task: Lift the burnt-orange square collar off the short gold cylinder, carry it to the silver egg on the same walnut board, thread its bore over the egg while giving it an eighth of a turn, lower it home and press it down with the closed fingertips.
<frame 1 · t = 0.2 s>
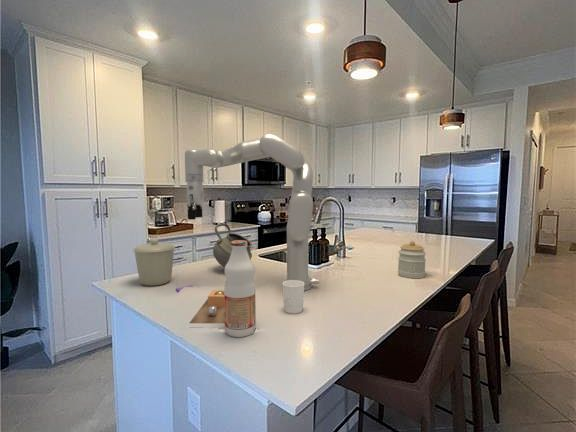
hand: (195, 218, 140), 31 cm above the counter, tool pointing down, fingers open, 9 cm apart
collar: (220, 303, 118), point 1 cm above the counter, touching walnut board
canister: (155, 283, 149), on the counter
white cup: (293, 310, 116), on the counter
walnut board: (216, 313, 112), on the counter
short gold cylinder: (220, 307, 118), resting on walnut board
fruit juice: (240, 331, 99), on the counter
jar: (411, 275, 162), on the counter
pot: (233, 270, 172), on the counter
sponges: (188, 294, 135), on the counter
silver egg: (212, 320, 107), resting on walnut board
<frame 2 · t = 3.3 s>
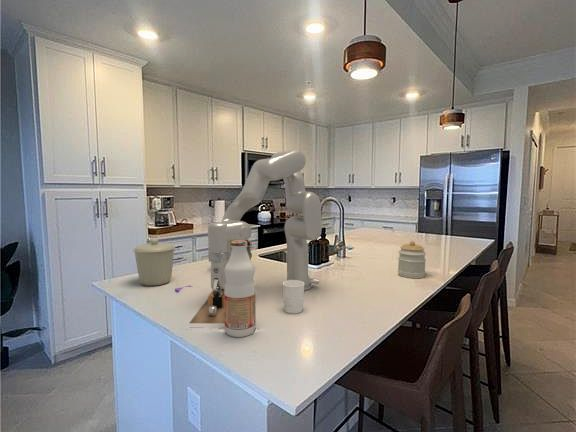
hand: (220, 303, 118), 2 cm above the counter, tool pointing down, fingers closed on collar, walnut board, 7 cm apart
collar: (220, 303, 118), point 1 cm above the counter, touching gripper, walnut board
everything else where it was.
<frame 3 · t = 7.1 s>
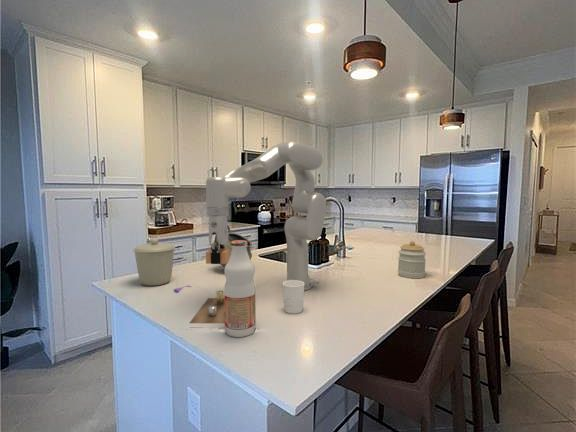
hand: (218, 261, 115), 18 cm above the counter, tool pointing down, fingers closed on collar, 7 cm apart
collar: (218, 261, 115), point 18 cm above the counter, touching gripper
everything else where it was.
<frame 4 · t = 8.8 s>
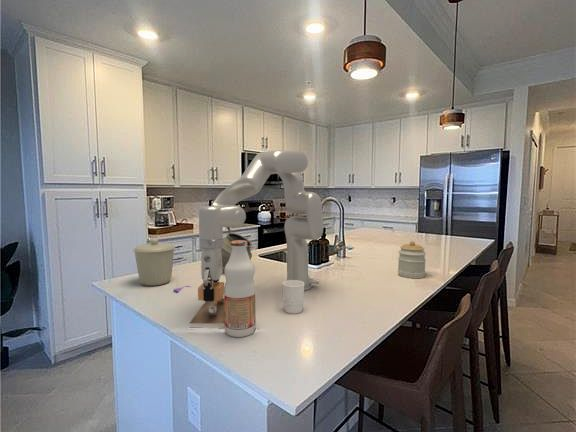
hand: (211, 296, 106), 8 cm above the counter, tool pointing down, fingers closed on collar, 7 cm apart
collar: (211, 296, 106), point 8 cm above the counter, touching gripper
everything else where it was.
when the fingers open (2 cm above the counter, at t = 10.5 s): collar stays where it is, resting on walnut board.
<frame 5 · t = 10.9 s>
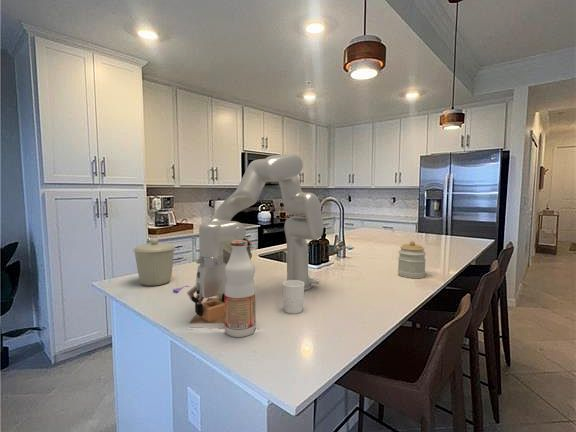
hand: (212, 311, 107), 3 cm above the counter, tool pointing down, fingers open, 9 cm apart
collar: (212, 315, 107), point 1 cm above the counter, touching walnut board
everything else where it was.
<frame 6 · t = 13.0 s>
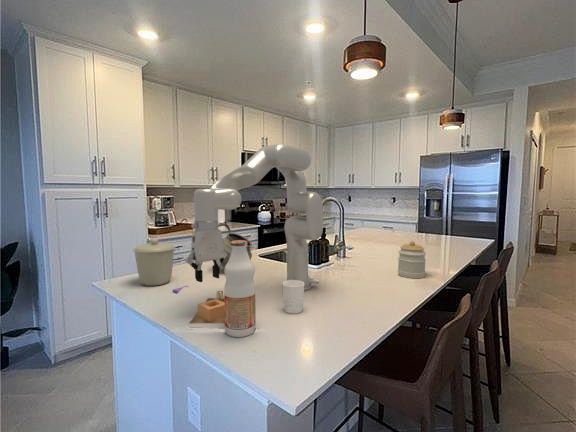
hand: (207, 278, 108), 14 cm above the counter, tool pointing down, fingers open, 5 cm apart
nothing on the counter moved.
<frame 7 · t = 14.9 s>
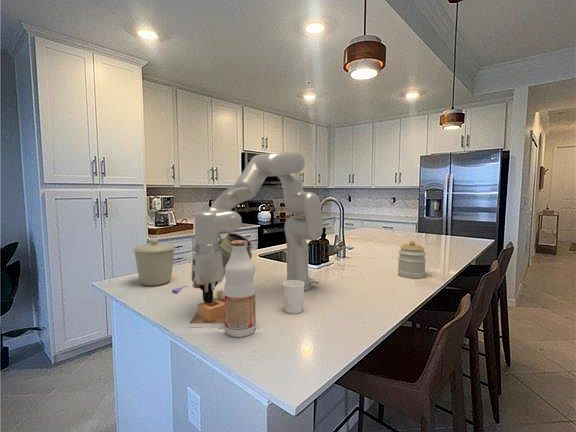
hand: (208, 301, 108), 6 cm above the counter, tool pointing down, fingers closed
collar: (212, 315, 107), point 1 cm above the counter, touching gripper, walnut board
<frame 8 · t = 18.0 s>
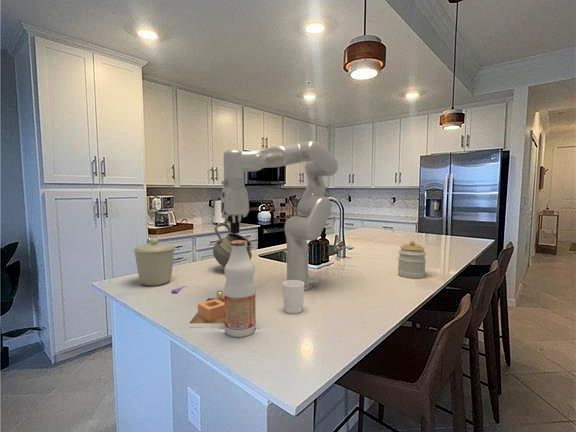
hand: (235, 233, 120), 27 cm above the counter, tool pointing down, fingers closed
collar: (212, 315, 107), point 1 cm above the counter, touching walnut board
at the end: collar 0.1 cm from the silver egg (horizontally); collar point 1.5 cm above the counter; the gripper is holding nothing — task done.
